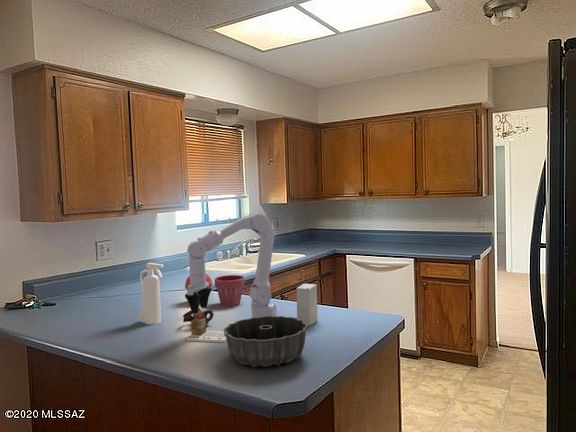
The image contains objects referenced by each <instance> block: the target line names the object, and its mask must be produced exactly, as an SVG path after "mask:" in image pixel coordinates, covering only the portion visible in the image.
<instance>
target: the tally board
mask: <svg viewBox="0 0 576 432" xmlns="http://www.w3.org/2000/svg"><path fill="white" fill-rule="evenodd" d="M224 334H225V333H224V330H206V332H205V333H204V334H203V335H192V334H190V335H188V336H187V337H186V338H185V341H186V342H205V343H206V342H207V343H221V344H222V343H227V339H226V336H224Z"/></svg>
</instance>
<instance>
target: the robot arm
mask: <svg viewBox="0 0 576 432" xmlns="http://www.w3.org/2000/svg"><path fill="white" fill-rule="evenodd" d="M241 230H252V231H253V232H255V233H256V234H257V236H259V238H260V241H259V249H258V255H257V256H258V257H257V263H256V264H257V265H256V271H255V278H254V280H253V281H252V286H251V287H250V289H249V293H248V294H249V297H250V299H251V303H250V304H251V306H250V307H251V318H253V317H263V316H278V315H277V314H278V313H277V311H278V310H277V305H276V304H274V303H271V300H272V292H271V284H270V273H271V272H270V271H271V263H272V257H273V250H274V249H273V248H274V242H275V241H274V240H275V233H274V230H273V227H272V225H271V220H270V219H269V217H267V216H266V215H265V214H263V213H255V212H251V213H249V214H248V215H245V216H242V217H240V218H238V219H237V220H235V221H234V222H233V223H231V224H229V225H227V226H226V227H224V228H222V229H221V230H219V231H218V230H215V229H214V230H210V231H208V233H207V234H206V235H204V236H202V237H198V238H196V239H197V240H194V241H191V242H190V243H189V245H188V246H187V249H186V250H187V253H188V255H189V259H188V260H189V262H188V263H189V264H188V265H189V276H190V285H189V286H188V288H189V289H186V293H185V294H184V298H185V299H186V300H187V303H188V305H189V308H190V311H192V313H198V310H199V307H200V309H201V308H202V309H206V308H208V302H209V298H210V294H211V293H212V291H213V289H212V287H210V288H208V287H209V282H206V274H207V273H206V261H205V255H206V253H207V252H210V251H212V250H214V249H215V248H217V247H218V246H220V245H222V244H223V242H224V240H225V239H226V238H228V237H231V236H232V235H233V234H235V233H238V232H239V231H241ZM196 292H197V293H198V294H196ZM199 300H200V302H199ZM199 304H200V305H199Z"/></svg>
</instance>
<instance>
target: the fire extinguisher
mask: <svg viewBox="0 0 576 432" xmlns="http://www.w3.org/2000/svg"><path fill="white" fill-rule="evenodd" d="M164 266H165V265H164V264H162V263H155V262H147V263H146V264H145V268H147V269H143V270H142V271H140V272H139V273H140V274H139V281H140V285H141V293H142V303H143V305H142V309H141V310H140V312H139V314H138V317H137V318H138V321H144V324H145V325H156V324H159V323H160V324H161V322H162V310H161V289H160V279H162V278H163V273H162V271H160V268H161V269H163V268H164ZM145 272H146V273H147V275H146V276H144V277H143V274H144V273H145ZM154 272H155V273H154ZM155 274H156V275H155ZM142 278H143V279H142Z"/></svg>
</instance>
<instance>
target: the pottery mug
mask: <svg viewBox="0 0 576 432" xmlns="http://www.w3.org/2000/svg"><path fill="white" fill-rule="evenodd" d="M208 314H209V317H207V316H208ZM214 315H215V314H214V312H213V311H212V310H211V309H207V310H204V311H202V310H201V307H200V308H199V310H198V313H192V311H191V310H190V311H188V312H186V313H184V314H183V315H182V317H183V320H182V322H183V323H186V322H187V323H188V322H190V323H191V321H192V320H194V319H196V318H199V319H206V328H208V324H209V323H210V321H212V320H213V318H214Z"/></svg>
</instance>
